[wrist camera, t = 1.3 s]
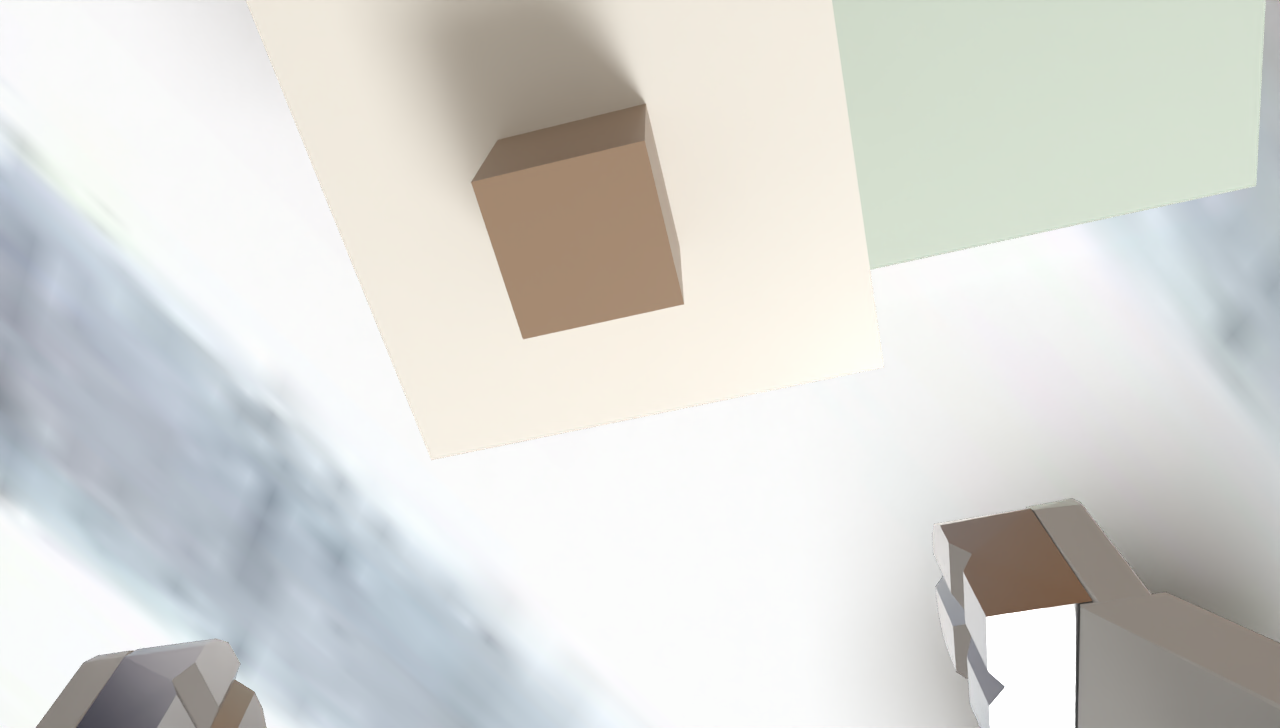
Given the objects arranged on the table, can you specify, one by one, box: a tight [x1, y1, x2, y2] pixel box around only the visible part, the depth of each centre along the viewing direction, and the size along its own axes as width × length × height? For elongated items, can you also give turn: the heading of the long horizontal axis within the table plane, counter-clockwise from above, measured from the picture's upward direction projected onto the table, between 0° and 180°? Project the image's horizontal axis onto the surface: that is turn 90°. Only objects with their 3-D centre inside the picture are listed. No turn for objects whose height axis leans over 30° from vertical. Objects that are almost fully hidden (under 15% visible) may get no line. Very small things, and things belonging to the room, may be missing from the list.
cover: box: [246, 0, 884, 460], centre depth 24 cm, size 14×14×5 cm
